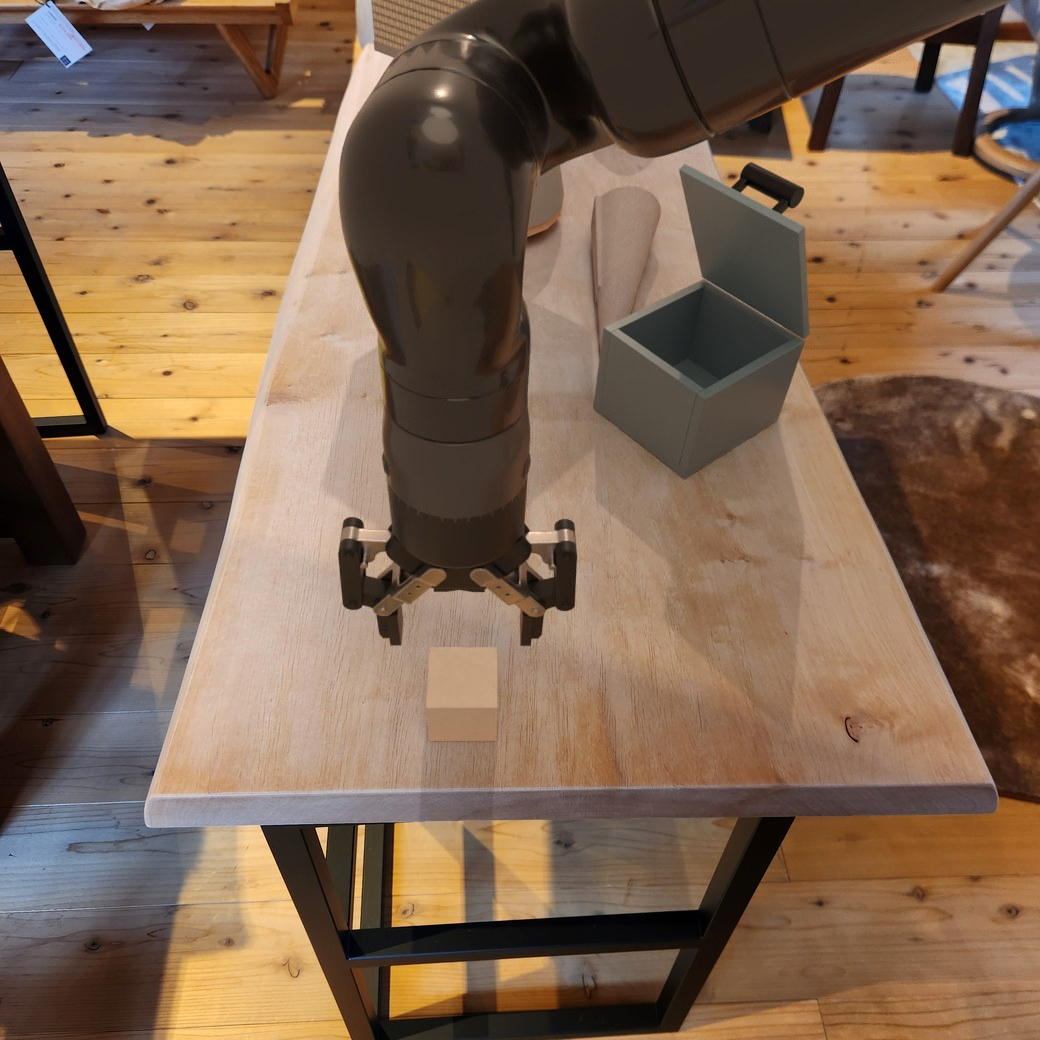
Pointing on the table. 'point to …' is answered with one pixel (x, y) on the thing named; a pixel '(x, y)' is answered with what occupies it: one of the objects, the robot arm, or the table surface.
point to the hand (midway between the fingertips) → (460, 634)
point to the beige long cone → (621, 248)
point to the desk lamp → (407, 13)
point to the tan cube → (462, 694)
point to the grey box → (694, 375)
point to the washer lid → (751, 242)
